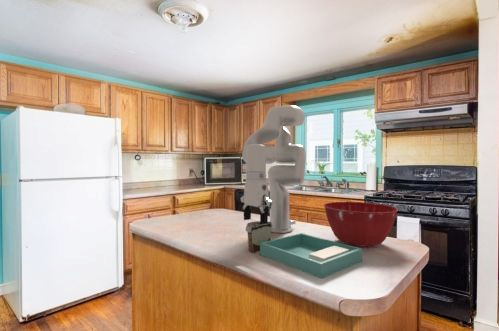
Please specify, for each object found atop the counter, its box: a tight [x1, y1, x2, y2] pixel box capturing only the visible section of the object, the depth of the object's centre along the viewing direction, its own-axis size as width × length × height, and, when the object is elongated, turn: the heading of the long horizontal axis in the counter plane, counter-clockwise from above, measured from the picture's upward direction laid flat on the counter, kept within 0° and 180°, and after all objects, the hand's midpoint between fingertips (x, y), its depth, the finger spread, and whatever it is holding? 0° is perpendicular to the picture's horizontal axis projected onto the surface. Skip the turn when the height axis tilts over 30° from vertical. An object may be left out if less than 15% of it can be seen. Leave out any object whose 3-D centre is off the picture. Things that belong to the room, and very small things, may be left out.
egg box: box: [308, 246, 349, 262], centre depth 90 cm, size 14×6×4 cm, turn 129°
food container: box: [245, 220, 273, 254], centre depth 109 cm, size 12×6×10 cm, turn 134°
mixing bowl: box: [322, 201, 399, 249], centre depth 117 cm, size 28×28×15 cm
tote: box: [259, 232, 363, 279], centre depth 97 cm, size 22×26×5 cm
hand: (255, 221), depth 108 cm, fingers open, 9 cm apart
